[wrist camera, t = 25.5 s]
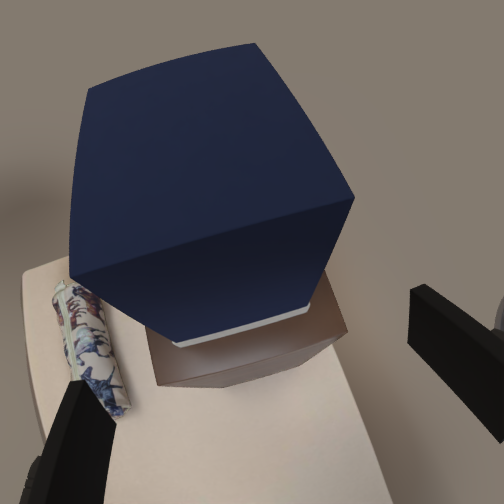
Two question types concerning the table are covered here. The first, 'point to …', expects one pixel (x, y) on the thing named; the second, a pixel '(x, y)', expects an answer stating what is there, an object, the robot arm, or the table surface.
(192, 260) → the blue blocks on base
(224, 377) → the brown box
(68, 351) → the pencil case
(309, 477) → the table surface
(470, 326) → the robot arm
